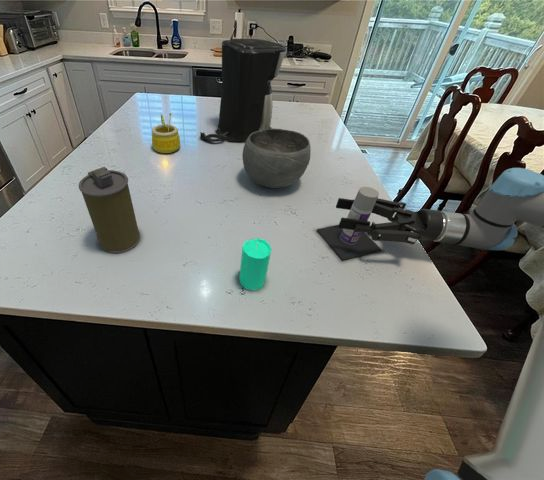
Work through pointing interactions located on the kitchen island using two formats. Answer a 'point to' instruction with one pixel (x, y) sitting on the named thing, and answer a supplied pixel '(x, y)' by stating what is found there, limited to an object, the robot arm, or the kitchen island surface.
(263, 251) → the candle
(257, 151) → the bowl
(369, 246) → the mat
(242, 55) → the coffee maker
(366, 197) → the container
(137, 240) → the canister
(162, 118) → the mug
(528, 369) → the robot arm
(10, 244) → the kitchen island surface
